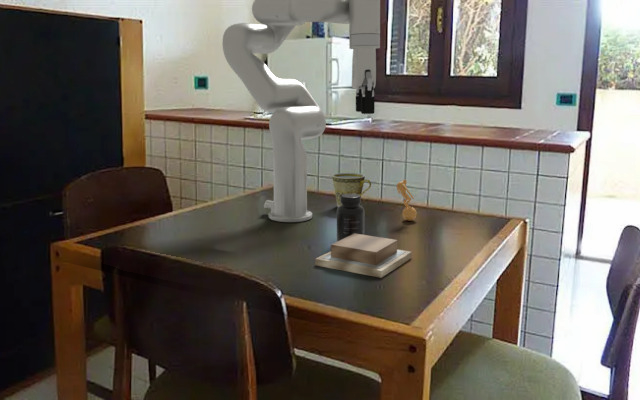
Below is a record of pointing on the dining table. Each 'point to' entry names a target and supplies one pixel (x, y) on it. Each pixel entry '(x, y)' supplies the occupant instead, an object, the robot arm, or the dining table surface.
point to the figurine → (408, 212)
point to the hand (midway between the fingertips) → (364, 112)
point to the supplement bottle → (350, 216)
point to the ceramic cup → (348, 184)
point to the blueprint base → (362, 268)
